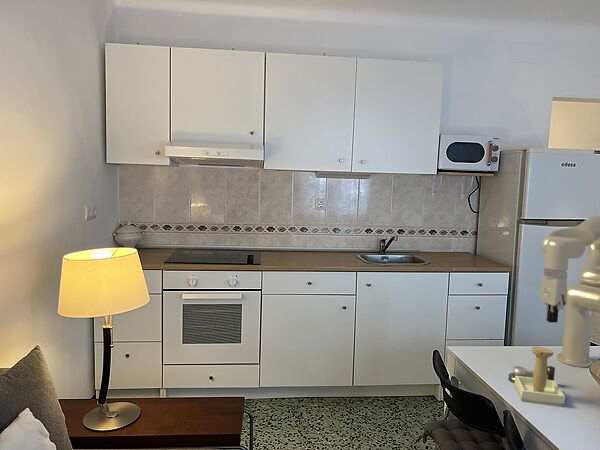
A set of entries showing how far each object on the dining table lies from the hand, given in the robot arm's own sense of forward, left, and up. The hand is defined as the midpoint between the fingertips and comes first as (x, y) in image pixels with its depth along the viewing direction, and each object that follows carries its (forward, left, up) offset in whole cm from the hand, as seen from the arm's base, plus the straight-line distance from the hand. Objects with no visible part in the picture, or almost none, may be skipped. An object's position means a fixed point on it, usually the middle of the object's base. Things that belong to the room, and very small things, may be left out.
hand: (551, 321), depth 176 cm
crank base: (+9, -6, -20) cm, 23 cm away
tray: (+20, -7, -21) cm, 30 cm away
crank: (+9, -7, -19) cm, 22 cm away
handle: (+20, -7, -20) cm, 29 cm away
